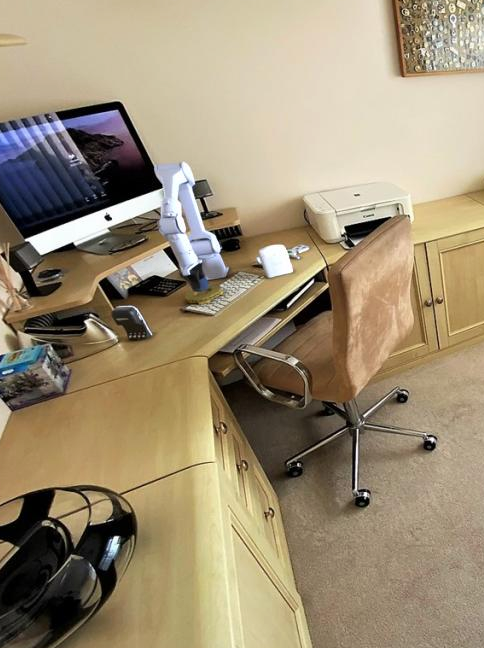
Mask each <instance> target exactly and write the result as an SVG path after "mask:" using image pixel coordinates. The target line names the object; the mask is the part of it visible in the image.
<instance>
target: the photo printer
mask: <svg viewBox="0 0 484 648" xmlns="http://www.w3.org/2000/svg"><path fill="white" fill-rule="evenodd" d="M287 250H288V249H286V247H285V245H284V244H272V245H268V246H264V247H262V248H260V249H259V250H258V256H259V257H260V260H261V263H262V264H261V265H262V268H263V271H264V274H265V276H266V278H267V279H270V278H271V279H272V278H275V277H279V276H284V275H288V274H291V273H293V272H294V269H293V266H292V262H291V259H290V257H289V256H288V253H287Z"/></svg>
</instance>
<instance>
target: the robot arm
mask: <svg viewBox="0 0 484 648" xmlns="http://www.w3.org/2000/svg"><path fill="white" fill-rule="evenodd" d="M153 169H154V174H155V177H156V178H157V179H158V180H159V182H160V183H161V184H162V191H163V199H161V201H160V219H158V220H157V221H156V222H157V223H156V224H157V228H158V231H159V233H160V234H161V235H162V236H163V238H164V239H165V241H166V242H168V244H169V247H170V248H171V250H172V252H173V254H174V256H175V258H176V260H177V262H178V266H179V268H180V273H179V276H180V277H181V279H184V280H185V281H186V282H187V283H188V285H189V286H190V285H191V286H192V287H193V288H194V289H200V288H201V284H200V281H199V276H198V275H205V277H206V279H207V281H212V280H217V279H224V278H226V277H227V274H228V272H229V268H230V267H228V266H227V267H226V265H225V262H224V260H223V258H222V255H221V254H220V253H221V245H220V242H219V241H218V239H217V236H216V235H215V234H214V233H213V232H211V231H208V230H206V229H205V225H204V222H203V219H202V216H201V213H200V210H199V207H198V203H197V200H196V197H195V193H194V191H193V186H195V185H196V182H195V181H196V180H195V178H194V174H193V172H192V168H191V167H190V165H189V164H188V163H186V161H181V162H173V163H172V162H171V163H160V164H159V163H156V164H155V165H154V168H153ZM178 198H179V199H178ZM182 211H183V213H184V216H185V219H186V222H187V225H188V229H189V231H190V233H189V234H188V235H187V233H186V232H187V227H186V223H185V220H184V218H183V215H182ZM191 286H190V287H191Z"/></svg>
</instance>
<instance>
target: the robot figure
mask: <svg viewBox="0 0 484 648" xmlns="http://www.w3.org/2000/svg"><path fill="white" fill-rule="evenodd" d="M286 250H287V253H288V256H289V258H293V259H296V260H300V259H301V256H300V255H298V254H301V253H304V252H306V251H308V250H310V246H309V245H306V244H299V245H296V246H294V247H291V248H290V249H286ZM255 260H256V262H257V264H258V265H259V266H260V265H262V263H261V260H260V257H259V255H258V256H255Z"/></svg>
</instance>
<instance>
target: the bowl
mask: <svg viewBox="0 0 484 648" xmlns="http://www.w3.org/2000/svg"><path fill="white" fill-rule="evenodd" d="M198 276H199V281H200V284H201V288H200V289H194V288H193V287H192V286H191V285H190V284H189V287H190V288H191V289H192V290H193V291H195V292H201V291H204V290H207V289H208V288H209V286H210V285H209V284H210V283H209V280H207V279H206V277H205V274H203V275H198Z"/></svg>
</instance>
